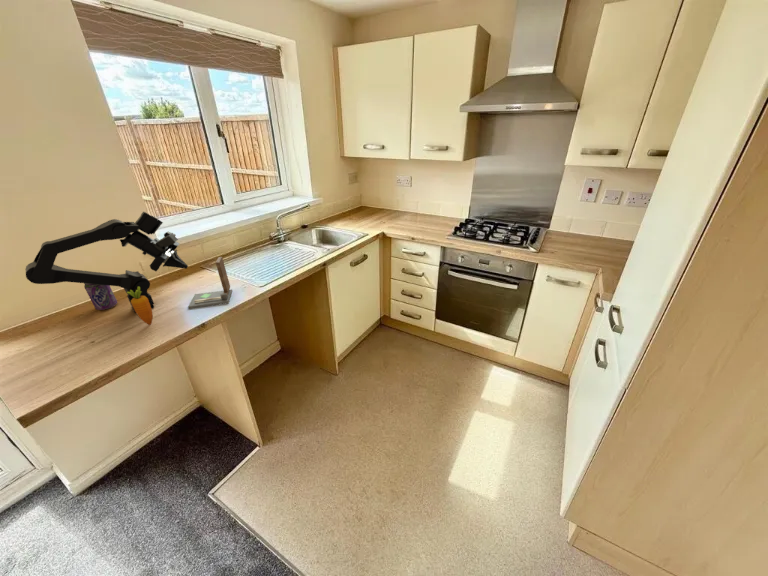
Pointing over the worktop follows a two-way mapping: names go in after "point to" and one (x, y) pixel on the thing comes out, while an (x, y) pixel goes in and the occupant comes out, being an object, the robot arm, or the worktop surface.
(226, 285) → the pull lever
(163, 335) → the worktop surface
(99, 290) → the beverage can
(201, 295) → the gray rectangular base plate
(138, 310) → the carrot
